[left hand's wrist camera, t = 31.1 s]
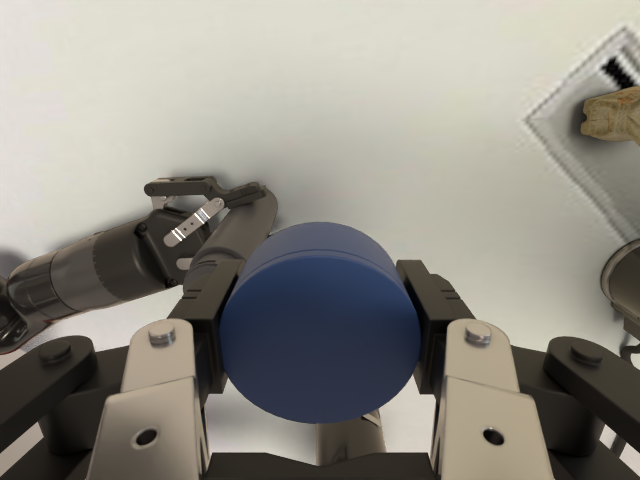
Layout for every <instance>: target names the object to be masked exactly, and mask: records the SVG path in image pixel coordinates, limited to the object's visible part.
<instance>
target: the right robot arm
mask: <svg viewBox="0 0 640 480" xmlns="http://www.w3.org/2000/svg"><path fill="white" fill-rule="evenodd" d="M144 191H145V193H146V194H147V195H148V196H151V199H152V203H153V208H154V210H153V211H152V212H151V213H150V214H149V215H148V216H147V217H145V218H142V219H139V220H136V221H133V222H130V223H128V224H125V225H122V226H119V227H116V228H113V229H110V230H107V231H102V232H98V233H95V234H94V235H93V236H90V237H87V238H85V239H82V240H80V241H78V242H76V243H74V244H72V245H70V246H68V247H66V248H63V249H60V250H57V251H54V252H51V253H49V254H46V255H43V256H40V257H37V258H34V259H32V260H29V261H27V262H25V263H23V264H21V265H19V266H18V267H17V268H15V269H14V270H13V272H12V273H11V274H10V276H9V278H8V280H6V279H4V278H3V277H2V276H0V355H4V354H8V353H11V352H14V351H16V350H17V349H19V348H21V347H22V346H24V345H25V344H26V343H28V342H29V341H31V340H32V339H33V338H35V337H36V336H38V335H39V334H41V333H42V332H44V331H45V330H47V329H49V328H50V327H52V326H53V325H55V324H56V323H58V322H60V321H61V320H64V319H68V318H71V317H74V316H77V315H80V314H83V313H86V312H90V311H93V310H98V309H104V308H109V307H113V306H116V305H119V304H123V303H126V302H129V301H132V300H135V299H138V298H142V297H145V296H148V295H151V294H154V293H157V292H160V291H164V290H167V289H170V288H172V287H175V286H177V285H183V283H184V278H185V276H186V275H185V274H186V273H187V272H188V270H189V267H190V263H191V261H192V259H193V257H194V256H195V255H196V254H197V252H198V251H199V250H200V248H201V247H202V246H203V245H204V243H205V242H206V241H207V240H208V238H209V237H210V236H211V233H210V228H209V224H208V222H207V220H208V219H210V218H211V217H212V216H214V215H215V214H216V213H218V212H219V211H220V210H222V209H223V208H226V207H228V208H229V209H232V208H235V207H238V206H241V205H244V204H247V203H250V202H253V201H255V200H258V199H261V198H264V197H266V196H267V194H268V190H267V187H266V185H264V186H261V187H260V186H259V184H258V183H255V182H252V183H249V184H246V185H243V186H240V187H238V188H235V189H232V190H228V191H227V190H223V189H222V188H221V187H220V186H219V185H218V184H217V181H216V179H215V178H214V177H212V176H201V177H175V178H158V179H156V180H154V181H152V182H150V183H148V184H146V185H145V187H144ZM181 195H204V196H205V197H206V198H207V199H208V200H209V201H208V202H207V203H205V204H204V205H203V206H201V207H200V208H199V209H197V210H196V211H195V212H194V213H190V212H186V211H183V210H179V209H175V208H172V207H168V206H167V203H168V202H171V201H172V200H174V199H175V198H176V196H181ZM272 235H273V234H272ZM272 235H269V236H268V238H269V237H270V236H272ZM371 453H386V448H385V443H384V438H383V432H382V425H381V421H380V414H379V409H376V410H374V411H372V412H371V413H369V414H366V415H363V416H361V417H358V418H355V419H351V420H348V421H343V422H337V423H327V424H316V466H324V465H329V464H333V463H336V462H340V461H344V460H348V459H352V458H356V457H360V456H363V455H367V454H371Z"/></svg>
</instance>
